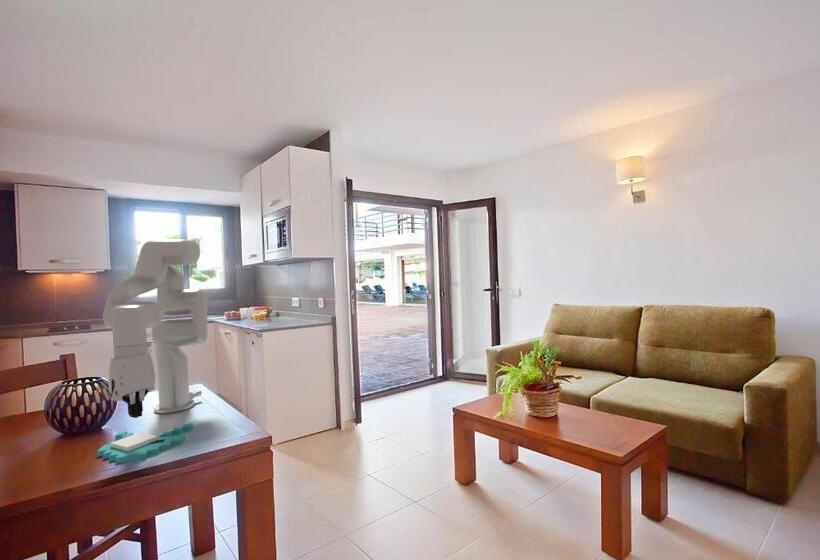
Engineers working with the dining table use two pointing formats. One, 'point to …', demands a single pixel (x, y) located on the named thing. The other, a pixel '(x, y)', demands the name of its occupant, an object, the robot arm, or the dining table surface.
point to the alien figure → (145, 446)
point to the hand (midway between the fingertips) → (135, 416)
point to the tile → (134, 441)
